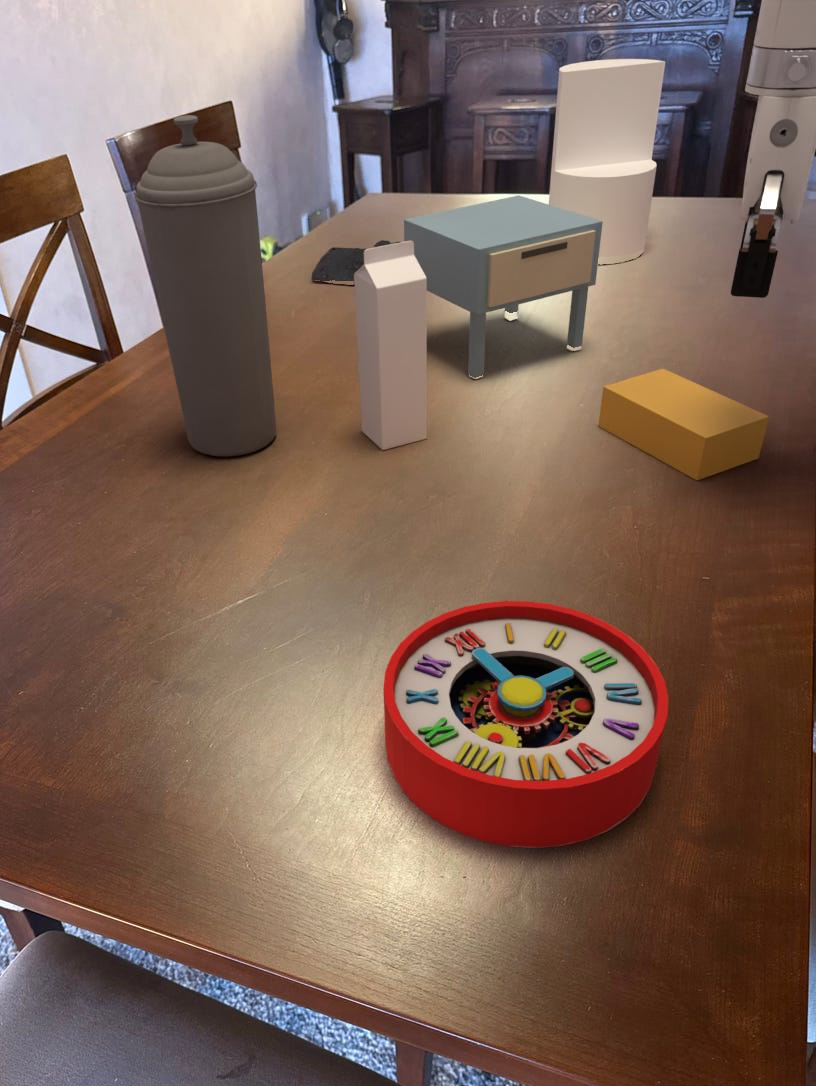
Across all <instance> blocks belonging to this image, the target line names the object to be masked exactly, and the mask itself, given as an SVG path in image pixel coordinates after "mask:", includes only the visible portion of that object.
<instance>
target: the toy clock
mask: <svg viewBox="0 0 816 1086" xmlns="http://www.w3.org/2000/svg"><path fill="white" fill-rule="evenodd" d="M383 712H384V713H383V715H384V739H385V740H384V741H385V743H384V746H385V750H386V759H387V763H388V765H389V768H390V770H391V773H392V776H393V778H394V780H395V781H396V783H397V784H398V785H399V787H400V789H401V790H402V792H403V793H404V795H406V797H407V798H409V799H410V801H411V802H412V803H413V804H414V805H415V806H416V807H417V808H418V809H419V810H421V812H423V813H425V814H426V815H428V817H430V818H432V819H433V820H434V821H436V822H437V823H439V824H441V825H443V826H445V827H447V828H449V829H450V830H453V831H455V832H456V833H458V834H461V835H463V836H466V837H469V838H472V839H475V840H478V841H481V842H484V843H489V844H494V845H500V846H505V847H511V848H526V849H527V848H529V849H541V848H552V847H562V846H563V847H564V846H566V845H567V846H568V845H571V844H575V843H580V842H584V841H587V840H589V839H592V838H594V837H596V836H600V835H601V834H604V833H606V832H609V831H610V830H611V829H613V828H615V827H616V826H617V825H619V824H621V823H622V822H623V821H625V820H626V819H628V818H629V817H630V816H631V815H632V814H633V813H634V811H635V810H636V809H638V807H639V806H640V805H641V804H642V803H643V801H644V799H645V797H647V796H646V795H648V792H649V791H650V788H651V786H652V783H653V779H654V777H655V772H656V768H657V763H658V759H659V755H660V751H661V746H662V742H663V737H664V733H665V729H666V725H667V720H668V716H669V694H668V689H667V684H666V681H665V679H664V676H663V675H662V672H661V671H660V669H659V667H658V665H657V663H656V662H655V661H654V660H653V658H652V657H651V656H650V655H649V654H648V652H647V651H646V649H644V648H643V647H642V646H641V645H640V644H639V643H637V642H636V641H635V640H634V639H633V638H632V637H630V636H629V635H628V634H626V633H625V632H623V631H621V630H620V629H618V628H617V627H616V626H614V625H612V624H610V623H608V622H606V621H604V620H602V619H600V618H597V617H595V616H593V615H591V614H587V613H585V612H582V611H580V610H577V609H573V608H570V607H565V606H560V605H556V604H552V603H543V602H537V601H528V600H524V601H523V600H502V601H490V602H482V603H478V604H472V605H467V606H462V607H460V608H456V609H453V610H450V611H447V612H444V613H442V614H440V615H438V616H436V617H433V618H432V619H429V620H427V621H426V622H424V623H422V624H421V625H419V627H417V628H415V629H414V630H412V632H410V633H409V634H408V635H407V636H406V637H405V638H404V639H403V640H401V642H400V643H399V644H398V645H397V648H396V649H395V650H394V651H393V653H392V655H391V656H390V659H389V661H388V664H387V666H386V669H385V672H384V680H383Z"/></svg>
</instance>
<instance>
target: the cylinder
mask: <svg viewBox="0 0 816 1086" xmlns="http://www.w3.org/2000/svg"><path fill="white" fill-rule="evenodd" d="M665 69H666V61H665V60H659V59H647V58H614V59H613V58H612V59H611V58H610V59H599V60H589V61H581V62H575V63H569V64H565V65H563V66H561V67H559V69H558V81H557V82H558V83H557V94H556V105H555V107H556V108H555V118H554V119H555V120H554V131H553V144H552V157H551V169H550V180H549V182H550V183H549V194H548V195H549V196H548V205H552V206H555V207H558V208H561V209H565V210H568V211H571V212H574V213H578V214H581V215H584V216H587V217H591V218H594V219H597V220H600V221H603V223H602V232H601V241H600V249H599V257H610V256H611V257H612V256H613V257H614V256H623V255H629V254H633V253H637V252H638V251H640V250H642V249H643V247H644V246H645V247H646V242H647V241H646V240H647V236H648V235H647V234H648V229H649V223H650V222H649V221H650V214H651V206H652V200H653V193H654V187H655V181H656V173H657V162H656V161H654V160H653V152H654V146H655V145H654V144H655V140H656V139H655V138H656V132H657V126H658V125H657V124H658V118H659V110H660V104H661V103H660V102H661V96H662V89H663V82H664V75H665Z"/></svg>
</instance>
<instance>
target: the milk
mask: <svg viewBox="0 0 816 1086" xmlns="http://www.w3.org/2000/svg"><path fill="white" fill-rule="evenodd" d="M400 242H401V243H396V244H390V245H385V246H380V247H375V248H374V247H371V248H366V250H365V251H364V265H363V266H362V267H361V268H360V269H359V270H358V271H357V272H356V273H354V285H355V286H354V299H355V300H354V302H355V304H354V306H355V324H356V341H357V344H356V345H357V363H358V365H357V366H358V379H359V380H358V382H359V401H360V402H359V404H360V405H359V407H360V422H361V432H362V433H363V434H364V435H365V436H366V437H367V438H368V439H370V440H371V441H372V442H373V443H374V444H375V445H376V446H377V447H378V448H379V449H381V450H382V451H385V450H389V449H393V448H398V447H400V446H405V445H409V444H412V443H416V442H420V441H424V440H426V439H427V436H428V434H427V433H428V432H427V431H428V430H427V428H428V426H427V423H428V422H427V421H428V419H427V416H428V415H427V413H428V412H427V410H428V409H427V407H428V406H427V405H428V403H427V402H428V401H427V399H428V397H427V395H428V394H427V393H428V392H427V389H428V388H427V381H428V379H427V378H428V375H427V372H428V369H427V365H428V364H427V362H428V361H427V355H428V353H427V352H428V350H427V348H428V347H427V346H428V345H427V341H428V340H427V326H428V324H427V323H428V322H427V321H428V320H427V318H428V317H427V316H428V315H427V311H428V310H427V307H428V306H427V303H428V302H427V301H428V300H427V299H428V298H427V293H428V291H427V279H426V276H425V274H424V272H423V270H422V268H421V267H420V265H419V263H418V261H417V259H416V257H415V256H414V242H413V241H406V242H404V241H400Z"/></svg>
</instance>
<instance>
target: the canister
mask: <svg viewBox="0 0 816 1086" xmlns="http://www.w3.org/2000/svg"><path fill="white" fill-rule="evenodd" d="M198 122H199V119H198V116H196V115H192V114H187V115H186V114H185V115H180V116H179V115H178V116H177V117H175V118H173V124H174V125H175V126H177V127H179V129H180V130H181V132H182V133H181V135H182V136H181V139H180V143H176V144H171V145H168V146H166V147H163V148H161V149H159V150H158V151H156V152H155V153H154V154H153V156H152V157H151V159H150V161H149V162H148V165H147V169H146V170H145V171H144V172H143V173H142V175H141V178H140V180H139V182H138V183H137V184H136V190H135V191H136V192H135V195H134V198H135V201H136V202H137V206H138V210H139V211H138V212H139V215H140V219H141V224H142V230H143V232H144V233H143V235H144V238H145V243H146V248H147V253H148V258H149V262H150V263H149V264H150V267H151V272H152V277H153V281H154V287H155V291H156V297H157V300H158V304H159V305H158V306H159V310H160V315H161V319H162V323H163V324H162V325H163V328H164V333H165V338H166V343H167V347H168V352H169V356H170V360H171V365H172V370H173V375H174V379H175V384H176V388H177V389H176V390H177V394H178V398H179V402H180V407H181V411H182V416H183V421H184V425H185V431H186V434H187V439H188V442H189V444H190V445H191V447H192V448H193V449H194V450H195V451H198V452H199V453H201V454H203V455H207V456H211V457H222V458H223V457H225V458H226V457H228V458H230V457H237V456H244V455H246V454H251V453H254V452H256V451H259V450H261V449H263V448H265V447H267V445H269V444H270V443H271V442H273V440H274V439H275V436H276V434H277V422H276V408H275V400H274V399H275V398H274V387H273V375H272V361H271V351H270V339H269V337H270V336H269V325H268V315H267V305H266V294H265V281H264V272H263V271H264V270H263V261H262V260H263V259H262V250H261V249H262V247H261V238H260V227H259V226H260V225H259V217H258V216H259V215H258V206H257V195H256V194H257V193H256V189H257V187H258V182H257V181H256V180H255V178H254V174H253V173H252V171H251V170H249V169H247V167H246V165H245V164H244V163H243V162H241V161H240V160H238V158H237V156H236V155H235V153H233V151H231V150H230V149H229V148H228V147H227V146H225V145H224V144H222V143H218V142H213V141H198V139H197V138H196V137H195V135H194V131H193V129H194V126H195V125H196V124H197V123H198Z"/></svg>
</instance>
